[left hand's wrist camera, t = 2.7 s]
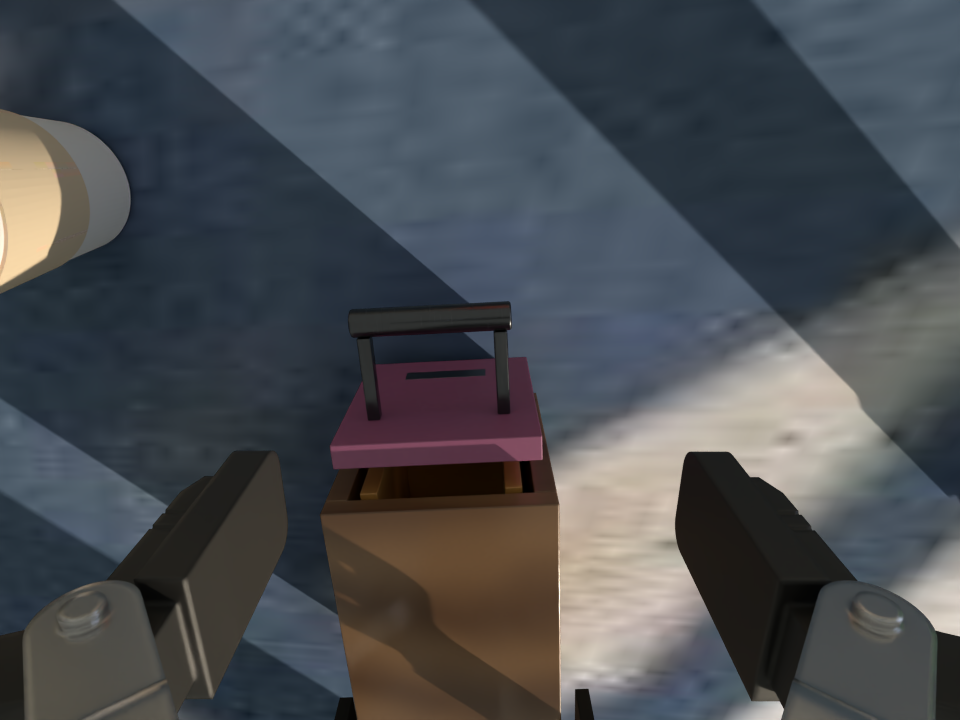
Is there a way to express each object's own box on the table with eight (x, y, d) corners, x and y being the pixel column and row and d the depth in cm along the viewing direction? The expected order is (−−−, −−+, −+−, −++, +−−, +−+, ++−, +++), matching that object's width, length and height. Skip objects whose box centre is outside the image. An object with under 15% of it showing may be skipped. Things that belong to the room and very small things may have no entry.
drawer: (358, 275, 32) (309, 328, 23) (523, 266, 32) (539, 316, 23) (404, 626, 41) (382, 764, 32) (533, 621, 41) (548, 758, 32)
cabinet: (368, 400, 36) (319, 514, 25) (536, 392, 36) (559, 504, 25) (403, 658, 44) (377, 831, 33) (541, 653, 43) (561, 826, 33)
